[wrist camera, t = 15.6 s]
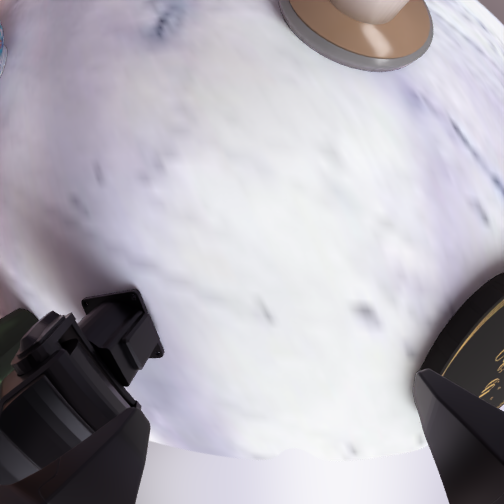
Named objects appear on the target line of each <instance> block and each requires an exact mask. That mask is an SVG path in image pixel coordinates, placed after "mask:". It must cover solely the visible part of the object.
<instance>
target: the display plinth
mask: <svg viewBox="0 0 504 504" xmlns="http://www.w3.org/2000/svg"><path fill="white" fill-rule="evenodd" d="M279 6H280V10H281V13H282V15H283V17H284V20H285V21H286V23H287V24H288V26H289V27H290V29H291V30H292V31H293V32H294V33H295V35H296V36H297V37H299V38H300V39H301V40H302V41H303V42H304V43H305V44H306V45H308V46H309V47H310V48H312V49H313V50H315V51H316V52H318V53H319V54H321V55H323V56H325V57H326V58H328V59H330V60H332V61H335V62H337V63H339V64H342V65H345V66H348V67H351V68H355V69H359V70H364V71H371V72H386V71H393V70H398V69H401V68H403V67H406V66H407V65H409V64H410V63H412V62H414V61H415V60H417V59H418V58H420V57H421V56H422V55H423V54H424V53H425V52H426V51H427V49H428V48H429V46H430V44H431V42H432V37H433V22H432V18H431V15H430V12H429V10H428V7H427V5H426V3H425V2H424V0H409V1H408V2H407V4H406V5H405V6H404V7H403V8H402V9H401V10H400V11H399V13H398V14H397V15H396V16H395V17H394V18H393V19H392V20H391V21H389V22H387V23H384V24H367V23H363V22H360V21H357V20H354V19H352V18H350V17H348V16H346V15H345V14H343V13H342V12H340V11H339V10H338V9H337V8H335V7H334V5H333V4H332V3H331V2H330V1H329V0H279Z"/></svg>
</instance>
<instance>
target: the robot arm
mask: <svg viewBox="0 0 504 504" xmlns="http://www.w3.org/2000/svg"><path fill="white" fill-rule="evenodd" d="M133 294H134V295H135V296H136V298H135V297H134V296H133ZM87 304H88V305H87ZM82 306H83V308H84V311H85V313H86V316H85V317H84V318H83V319H82V320H81V321H80V322H79V323H78V324H77V322H76V321H75V320H76V318H75V317H74V315H73V314H72V313H69V314H67V315H65V316H64V315H62V316H61V315H59V314H57V313H56V312H54V311H51V312H49V313H48V314H47V315H45V316H44V317H43V318H42V319H40V320H39V321H38V322H37V323H36V324H34V325H33V326H32V327H31V329H30V330H29V331H28V332H27V333H26V334H25V335H24V336H23V337H22V339H21V340H20V349H19V350H18V352H17V353H16V355H15V357H14V358H13V360H12V362H11V365H12V367H13V368H14V370H13V371H12V372H11V373H10V374H9V375H8V376H7V377H5V378H4V379H3V381H2V382H1V385H0V504H135V502H136V498H137V494H138V490H139V485H140V481H141V477H142V474H143V470H144V465H145V461H146V454H147V447H148V441H149V434H150V423H149V421H148V420H147V418H146V417H145V415H144V414H143V412H142V411H141V405H140V404H139V403H138V401H136V400H134V399H133V397H132V396H131V395H130V394H129V393H128V392H127V390H126V389H125V388H124V387H123V386H125V387H128V386H129V385H130V383H131V381H132V380H133V378H134V377H135V375H136V373H137V372H138V370H141V369H142V368H143V366H144V365H145V363H146V361H147V360H148V358H161V357H162V356H163V355H164V349H163V347H162V345H161V343H160V338H159V336H158V334H157V331H156V329H155V327H154V324H153V322H152V320H151V317H150V315H149V314H148V312H147V310H146V307H145V304H144V302H143V299H142V297H141V294H140V292H139V291H138V290H135V289H133V290H127V291H121V292H116V293H110V294H104V295H98V296H92V297H86V298H84V299H83V300H82ZM157 351H158V352H160V353H158V352H157ZM413 396H414V399H415V403H416V406H417V410H418V413H419V417H420V420H421V424H422V428H423V431H424V434H425V437H426V440H427V442H428V445H429V447H430V450H431V452H432V455H433V458H434V460H435V463H436V466H437V468H438V471H439V474H440V477H441V480H442V482H443V485H444V488H445V491H446V494H447V498H448V500H449V504H504V411H502V410H500V409H498V408H497V407H495V406H493V405H491V404H490V403H488V402H486V401H484V400H483V399H481V398H479V397H477V396H476V395H474V394H472V393H470V392H469V391H467V390H465V389H464V388H462V387H460V386H458V385H457V384H455V383H453V382H451V381H450V380H448V379H446V378H445V377H443V376H441V375H439V374H438V373H436V372H434V371H433V370H431V369H424V370H421V371H418V372H417V373H416V376H415V382H414V387H413Z"/></svg>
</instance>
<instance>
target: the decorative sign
mask: <svg viewBox="0 0 504 504" xmlns="http://www.w3.org/2000/svg"><path fill="white" fill-rule="evenodd" d="M424 369H431V370H433V371H434V372H436V373H438V374H439V375H441V376H443V377H445V378H446V379H448V380H450V381H451V382H453V383H455V384H457V385H458V386H460V387H462V388H464V389H465V390H467V391H469V392H470V393H472V394H474V395H476V396H477V397H479V398H481V399H483V400H484V401H486V402H488V403H490V404H491V405H493V406H495V407H497V408H498V409H499V408H500V407H501V406H502V405H504V273H502V274H500V275H498V276H496V277H494V278H493V279H491V280H490V281H488V282H487V283H485V284H484V285H483V286H482V287H481V288H480V289H478V290H477V291H476V292H475V293H474V294H473V295H472V296H471V297H470V298H469V299H468V300H467V301H466V302H465V303H464V304H463V305H462V306H461V307H460V309H459V310H458V311H457V312H456V313H455V315H454V316H453V317H452V318H451V320H450V321H449V322H448V324H447V325H446V326H445V328H444V329H443V331H442V332H441V333H440V335H439V336H438V338H437V340H436V342H435V343H434V345H433V346H432V348H431V350H430V352H429V353H428V355H427V357H426V359H425V361H424V363H423V365H422V367H421V370H424ZM421 370H420V371H421ZM415 404H416V403H415ZM416 407H417V406H416Z"/></svg>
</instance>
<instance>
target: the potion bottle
mask: <svg viewBox="0 0 504 504" xmlns="http://www.w3.org/2000/svg"><path fill="white" fill-rule="evenodd" d="M37 322H38V320H37V318H36V317H35V316H34V315H33V314H31V313H30V312H29V311H27V310H24V309H20V308H19V309H17V310H15V311H13V312H12V313H10V314H8V315H6V316H5V317H3V318H1V319H0V385H1V382H2V381H3V379H4V378H5V377H7V376H8V375H9V374H10V373H11V372H12V371H13V370H14V368H13V367H12V365H11V362H12V360H13V358H14V357H15V355H16V353H17V352H18V350H19V349H20V340H21V339H22V337H23V336H24V335H25V334H26V333H27V332H28V331H29V330H30V329H31V327H32V326H33V325H34V324H36V323H37Z"/></svg>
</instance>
